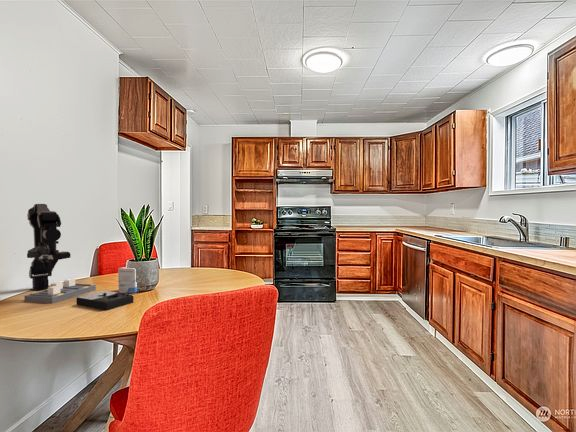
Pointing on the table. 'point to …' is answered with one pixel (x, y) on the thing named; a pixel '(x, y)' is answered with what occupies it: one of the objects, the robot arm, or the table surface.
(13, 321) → the table surface
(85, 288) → the switch bank
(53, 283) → the tab
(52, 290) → the tab
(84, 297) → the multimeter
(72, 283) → the tab
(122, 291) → the ink box
